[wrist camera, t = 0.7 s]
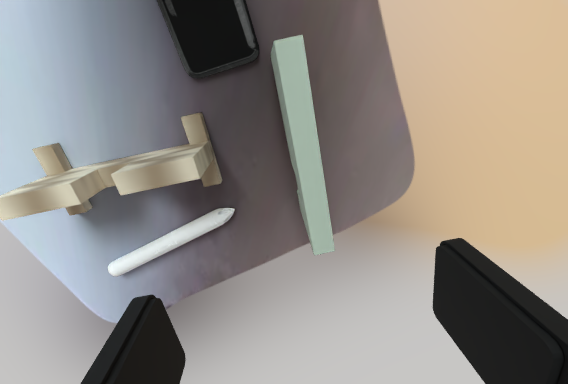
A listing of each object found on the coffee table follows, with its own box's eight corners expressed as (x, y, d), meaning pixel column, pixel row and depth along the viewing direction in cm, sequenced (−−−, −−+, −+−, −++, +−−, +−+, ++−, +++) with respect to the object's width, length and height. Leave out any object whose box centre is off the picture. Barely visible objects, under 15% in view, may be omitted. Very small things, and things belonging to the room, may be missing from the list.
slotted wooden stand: (76, 211, 32) (21, 248, 25) (40, 146, 29) (-35, 167, 22) (222, 180, 32) (210, 208, 25) (201, 112, 29) (180, 121, 22)
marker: (231, 198, 34) (229, 206, 31) (239, 212, 34) (238, 220, 32) (113, 258, 36) (103, 270, 33) (123, 269, 36) (115, 281, 34)
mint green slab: (315, 206, 34) (334, 251, 25) (300, 209, 34) (313, 255, 25) (289, 51, 28) (302, 34, 18) (270, 55, 28) (274, 40, 18)
